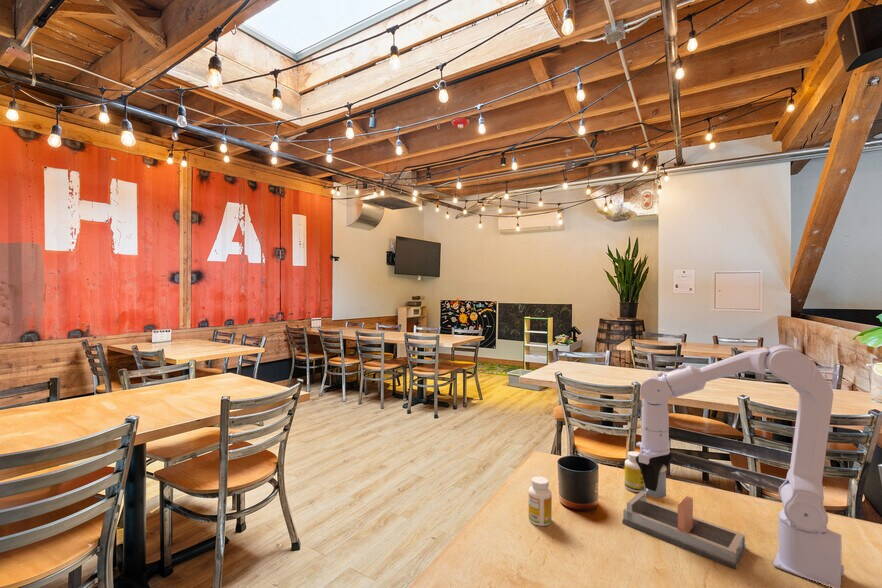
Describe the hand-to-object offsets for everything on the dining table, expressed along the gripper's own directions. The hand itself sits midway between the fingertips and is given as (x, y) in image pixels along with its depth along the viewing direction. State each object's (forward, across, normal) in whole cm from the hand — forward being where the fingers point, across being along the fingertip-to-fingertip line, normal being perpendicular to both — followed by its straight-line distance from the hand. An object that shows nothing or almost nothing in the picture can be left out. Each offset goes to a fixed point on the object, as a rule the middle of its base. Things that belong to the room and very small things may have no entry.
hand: (654, 485), depth 95 cm
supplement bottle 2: (+9, -16, -10) cm, 21 cm away
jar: (+2, 0, 0) cm, 2 cm away
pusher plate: (+8, 0, +6) cm, 10 cm away
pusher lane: (+9, 0, +6) cm, 11 cm away
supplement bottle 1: (+9, +18, -20) cm, 28 cm away
